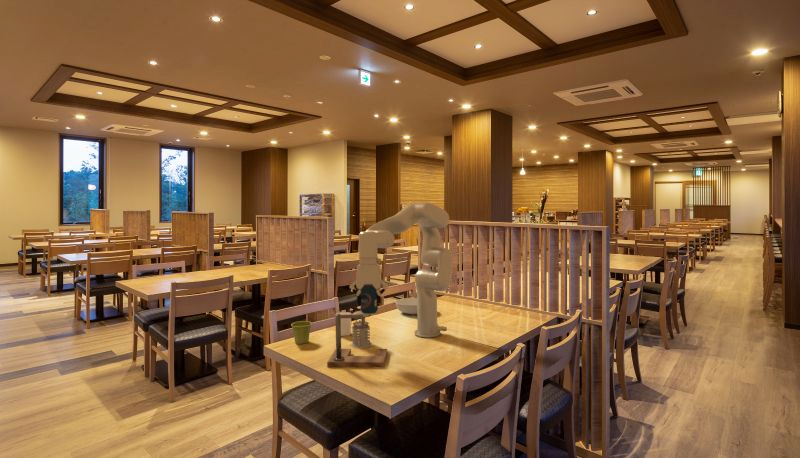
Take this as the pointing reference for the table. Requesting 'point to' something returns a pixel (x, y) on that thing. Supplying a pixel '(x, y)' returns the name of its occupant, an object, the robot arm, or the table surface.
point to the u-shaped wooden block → (358, 359)
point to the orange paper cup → (345, 324)
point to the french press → (361, 332)
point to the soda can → (369, 299)
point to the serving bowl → (407, 305)
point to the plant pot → (301, 331)
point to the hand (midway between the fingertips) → (369, 304)
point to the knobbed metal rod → (338, 333)
